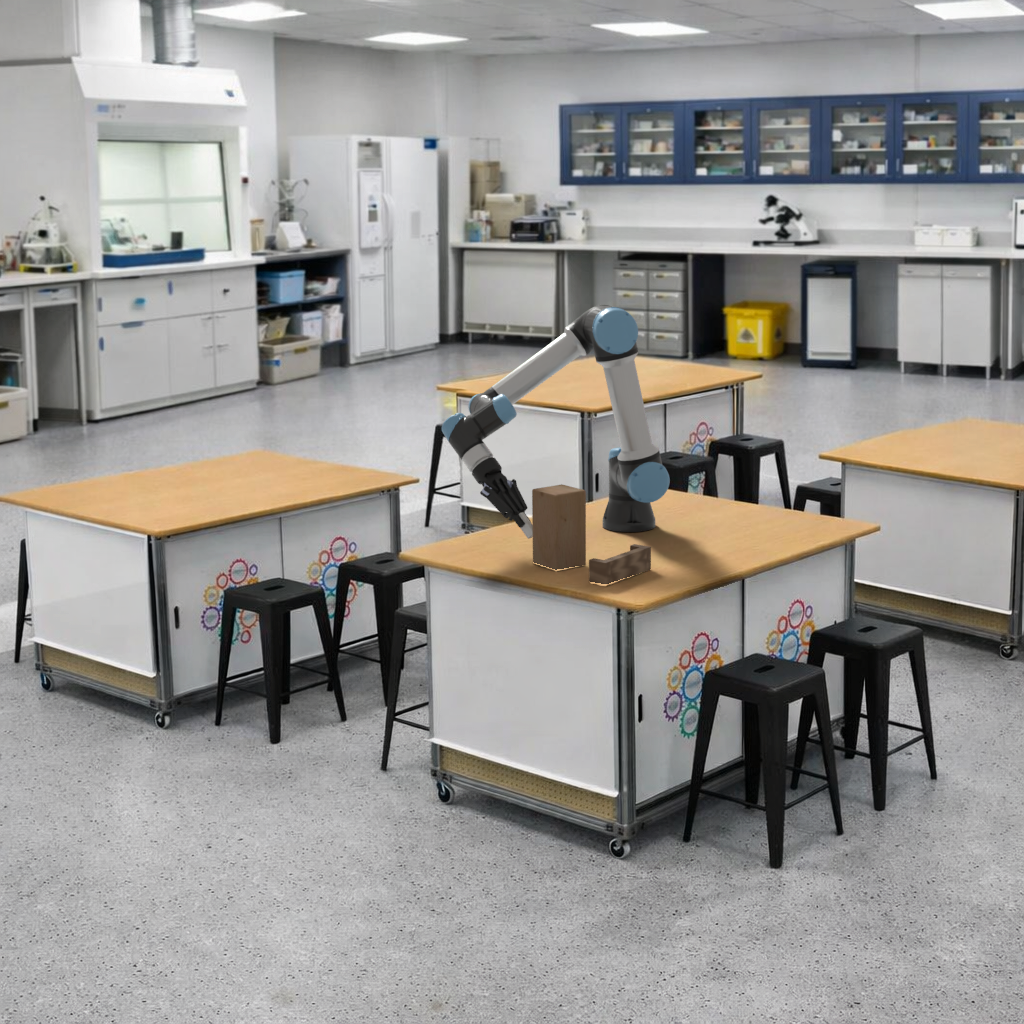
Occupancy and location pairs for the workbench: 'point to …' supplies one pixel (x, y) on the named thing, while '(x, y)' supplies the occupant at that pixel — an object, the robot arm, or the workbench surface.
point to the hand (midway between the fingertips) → (532, 535)
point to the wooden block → (559, 526)
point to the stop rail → (620, 565)
